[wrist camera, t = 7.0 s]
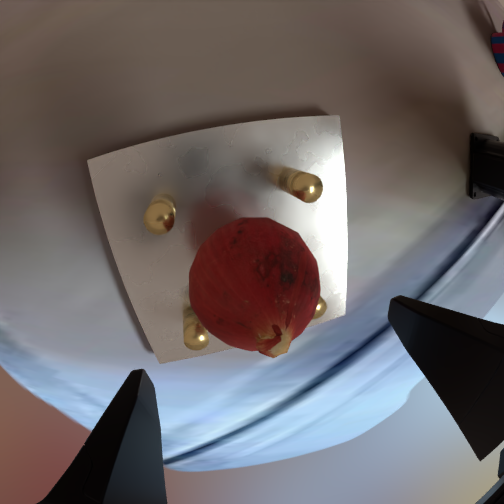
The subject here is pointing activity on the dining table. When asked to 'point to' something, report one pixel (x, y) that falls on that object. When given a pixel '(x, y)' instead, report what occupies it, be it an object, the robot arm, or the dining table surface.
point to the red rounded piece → (255, 285)
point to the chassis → (219, 213)
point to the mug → (498, 48)
